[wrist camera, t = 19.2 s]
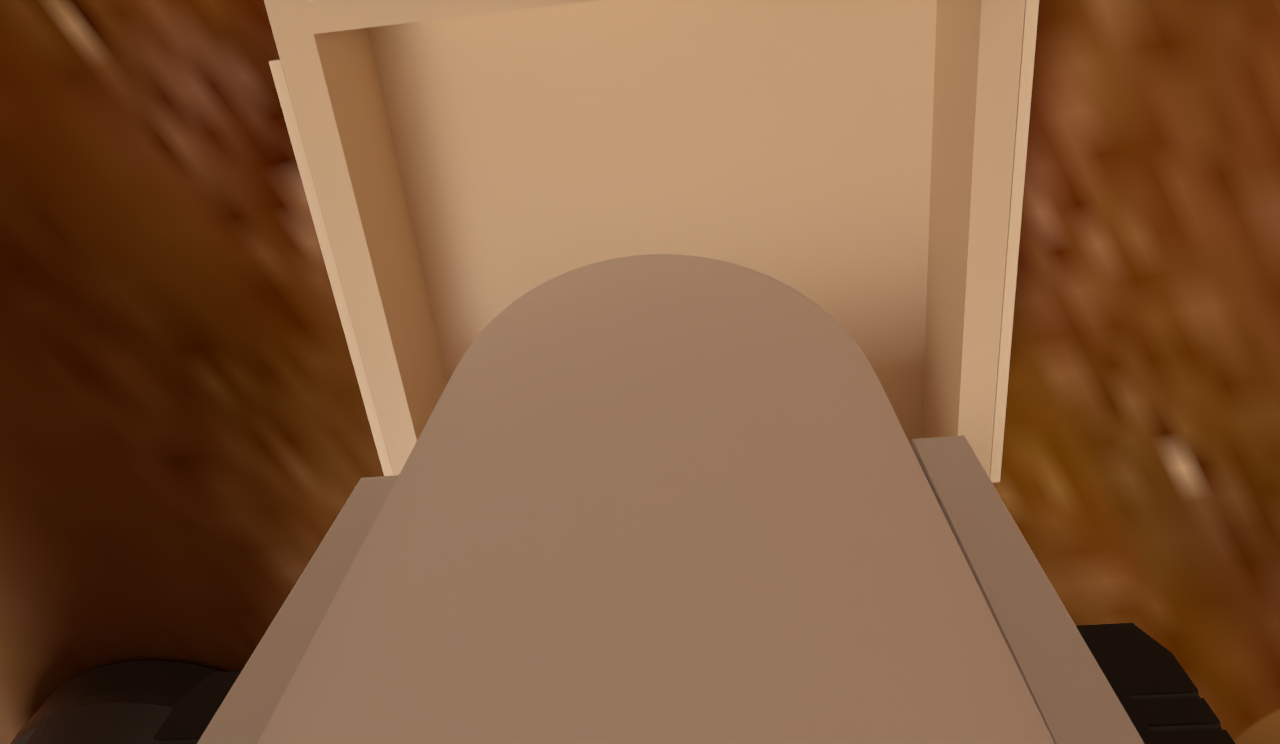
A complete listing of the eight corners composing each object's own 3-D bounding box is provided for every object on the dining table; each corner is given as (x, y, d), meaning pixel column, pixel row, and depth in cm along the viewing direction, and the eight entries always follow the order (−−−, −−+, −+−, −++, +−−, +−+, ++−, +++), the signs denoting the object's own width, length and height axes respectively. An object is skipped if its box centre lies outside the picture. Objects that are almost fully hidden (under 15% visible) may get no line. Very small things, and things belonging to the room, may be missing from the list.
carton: (441, 485, 32) (406, 562, 28) (318, -14, 25) (247, -9, 21) (955, 449, 30) (997, 525, 26) (985, -97, 23) (1049, -108, 19)
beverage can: (829, 176, 14) (1428, 1025, 3) (923, 569, 17) (1363, 1657, 6) (370, 319, 15) (-414, 1262, 4) (538, 657, 18) (343, 1677, 7)
